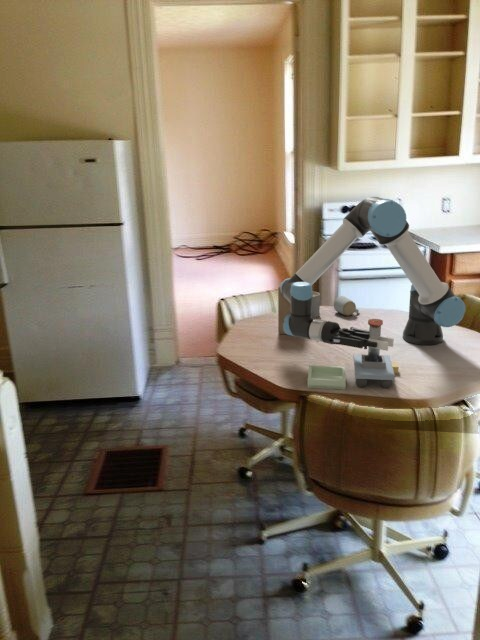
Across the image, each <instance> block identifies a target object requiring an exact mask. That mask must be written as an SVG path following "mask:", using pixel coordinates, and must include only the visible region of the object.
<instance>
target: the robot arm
mask: <svg viewBox="0 0 480 640" xmlns="http://www.w3.org/2000/svg"><path fill="white" fill-rule="evenodd" d="M409 229H410V224H409V223H408V221H407V214H406V210H405V209H404V207H403V206H402V204H400V203H398V202H397V201H395V200H393V199H388V198H382V197H379V196H368V197H366V198H364V199H362V200H361V201H360V202H358V204H357V205H355V206H354V207H353V208H352V209H351V211H350V212H348V213H347V214H346V216H344V218H343V219H342V223H341V225H340V226H339V227H338V228H337V229H336V230H335V231H334V232H333V233H332V234H331V235H330V237H329V238H328V239H326V240H325V241H324V243H323V244H322V245H321V246H320V247H319V248H318V249H317V250H316V251H315V252H314V253H313V254H312V256H310V257H309V258H308V260H307V261H305V263H304V264H303V265H302V266H301V267H300V268H299V269H298V270H297V271H296V272H295V273H294V274H293V275H292V276H291V277H289V278H285V279H284V280H282V281H281V282H282V284H281V283H280V284H281V287H280V290H281V293H282V295H283V296H284V298H285V299H287V300H288V301H289V303H290V304H291V314H289V315H287V316H286V317H285V319H284V323H283V329H284V332H285V333H286V334H285V335H288V336H292V337H295V338H301V339H305V340H310V341H315V342H316V343H319V342H320V343H325V344H328V345H341V346H345V347H352V348H356V349H357V348H358V349H364V350H367V349H368V347H371V348H376V349H380V350H381V351H386V352H387V351H389V348H390V347H391V348H393V347H394V344H395V343H394V337H388V336H383V335H380V340H375V339H370V338H369V330H367V329H361V328H357V327H354V326H350V329H348V327H342V328H341V327H340V324H339V323H338V322H335V321H331V320H328V321H327V320H325V319H321V318H320V319H319V318H312V296H313V292H314V291H313V285H314V283H316V282H317V281H318V280H319V279H320V278H321V276H323V275H324V273H325V272H327V270H328V269H329V268H330V267H331V266H332V265H333V264H334V263H335V262H336V261H337V260H338V259H339V258H340V257H341V255H343V254H344V253H345V252H346V251H347V250H348V249H349V248H350V247H351V245H352V244H353V243H355V241H356V240H357V239H360V238H363V237H364V236H365V235H366V234H367V233H369V232H371V233H372V235H373V236H374V239H376V241H377V243H378V244H379V245H380V246H386V247H387V249H388V250H389V252H390V253H391V255H392V256H393V258H394V260H395V261H396V262H397V264H398V265H399V267H400V268H401V270H402V271H403V273H404V274H405V276H406V277H407V279H408V281H409V282H410V283H411V285H410V291H409V293H410V294H409V305H408V306H409V307H408V320H407V321H406V324H405V326H404V329H403V332H402V339H403V340H404V341H406V342H409V343H411V344H415V345H421V346H432V345H438V344H441V343H442V342H443V340H444V334H443V329H442V327H443V328H452V327H454V326H456V325H458V324H459V323H460V322H461V321H462V319H463V318H464V316H465V313H466V303H465V302H464V301H463V299H461V297H459V296H456V295H455V294H454V292H453V290H452V289H451V287H450V286H449V284H448V282H447V283H446V282H444V281H441V279H439V277H438V275H437V274H436V273H435V270H434V269H433V268H432V266H431V265H430V263H429V262H428V260H427V259H426V257H425V255H424V254H423V252H422V251H421V250H420V248H419V246H418V245H417V243H416V242H415V240H414V239H413V237H412V236H411V234H410V233H409ZM312 291H313V292H312Z"/></svg>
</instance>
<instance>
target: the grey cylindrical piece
mask: <svg viewBox="0 0 480 640" xmlns="http://www.w3.org/2000/svg"><path fill="white" fill-rule="evenodd" d="M312 292H313V296H312V318H314V319H317V318H318V317H320V307H321V306H320V304H321V302H320V300H321V296H320V295H321V294H320V292H317V291H313V290H312Z"/></svg>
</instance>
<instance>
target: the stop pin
mask: <svg viewBox="0 0 480 640" xmlns="http://www.w3.org/2000/svg"><path fill="white" fill-rule="evenodd" d="M383 323H384V321H383V320H382V319H380V318H370V319H368V320H367V324H368V325H369V330H368V331H369V338H370V339H375V340H380V336H382V335H381V334H382V333H381V332H382V326H383V325H384V324H383ZM367 349H368V350H367V352H368V353H367V355H368V362H379V355H380V352H381V351H380V349H376V348H371V347H368V346H367Z"/></svg>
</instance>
